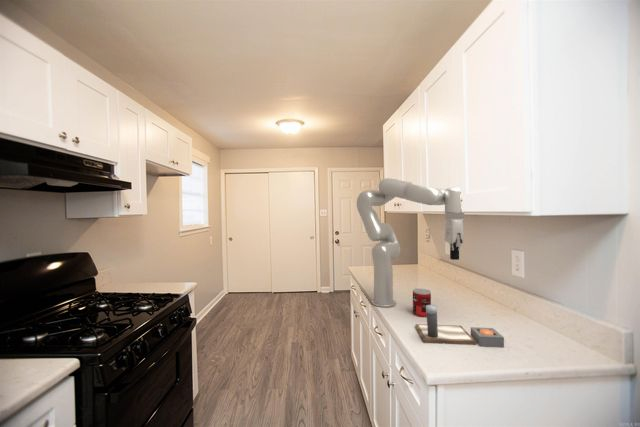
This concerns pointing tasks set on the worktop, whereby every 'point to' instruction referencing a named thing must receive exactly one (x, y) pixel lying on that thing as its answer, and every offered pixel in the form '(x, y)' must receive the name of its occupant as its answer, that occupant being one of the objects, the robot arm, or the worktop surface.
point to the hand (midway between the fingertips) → (454, 259)
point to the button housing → (487, 338)
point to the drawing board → (446, 335)
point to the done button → (486, 332)
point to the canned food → (421, 301)
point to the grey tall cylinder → (432, 321)
